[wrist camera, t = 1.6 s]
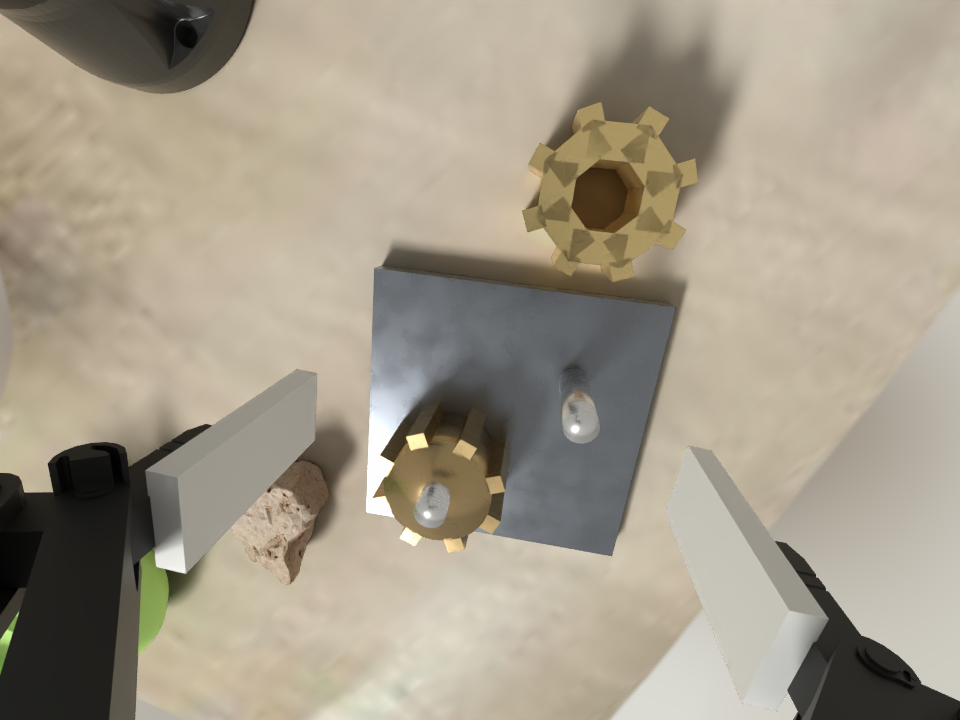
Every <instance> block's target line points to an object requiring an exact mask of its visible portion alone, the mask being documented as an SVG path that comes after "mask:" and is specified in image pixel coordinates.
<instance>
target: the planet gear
mask: <svg viewBox="0 0 960 720" xmlns="http://www.w3.org/2000/svg"><path fill="white" fill-rule="evenodd" d="M668 120H669V118H668V117H666V116H664V115H663V114H661V113H659V112H658V111H656V110H655V109H653V108H651V107H650V106H649V107H648V108H647V109H646V110H645V111H644V112H643V113H642V114H641V115H639V116H638V117H637V118H636V119H635V120H634V121H633V122H632V123H623V122H613V121H605V118H604V113H603V108H602V102H599V103H596V104H593V105H590V106H587V107H584V108H582V109H579V110H577V113H576V116H575V119H574V121H573V124H572V130H573V136H572V137H571V138H570V139H569V140H567V141H566V142H565V143H564V144H563V145H562V146H560V147H559V148H558V149H557V150H556V151H554V150H552V149H550V148H549V147H547V146H545V145H543V144H542V143H539V145H538V147H537V149H536V151H535V153H534V154H533V156H532V158H531V160H530V162H529V164H528V165H529V168H530V171H531V172H533V173H534V174H536V175H538V176H539V177H541V178H542V182H541V189H540V196H539V203H538V206H536V207H532V208H529V209H526V210H522V212H523V216H524V220H525V224H526V228H527V232H530V231H534V230H537V229H541V228H544V229H545V231H546V232H547V233H548V235H549V236H550V238H551V239H552V240H553V242H554V243H555V244H556V246H557V248H556V250H555V251H554V253H553V255H552V256H551V260H552V265H553V267H555V268H557V269H558V270H560V271H562V272H563V273H565V274H567V275H569V276H570V277H571V276H572V274H573V272H574V271H575V269H576V268H577V266H578V264H579V263H585V264H593V265H601V269H602V271H603V272H604V273H605V274H606V276H607V277H608V278H609V279H610V280H611V281H612V282H616V281H620V280H623V279H627V278H631V277H635V276H634V271H633V266H632V260H633V259H635V258H636V257H638V256H639V255H640V254H642V253H643V252H645V251H646V250H647V249H649V248H650V247H652V246H653V245H654V244H656V245H659V246H662V247H665V248H669V249H672V250H673V249H674V247H675V246H676V244H677V243H678V241H679V240H680V239H681V237H682V236H683V234H684V233H685V231H686V229H684V228H683V227H681V226H679V225H678V224H676V223H674V222H673V221H672V220H673V216H674V212H675V208H676V204H677V199H678V195H679V191H680V188H681V187H685V186H688V185H692V184H695V183H698V176H697V169H696V162H695V159H691V160H688V161H685V162H681V163H678V164H676V162H675V161H674V159H673V158H672V156H671V155H670V153H669V151H668V150H667V148H666V147H665V145H664V144H663V142H662V141H661V139H660V138H659V135H660V133H661V132H662V130H663V128H664V127H665V125H666V123H667V122H668ZM590 167H593V168H603V169H612V170H615V171H616V173H617V174H618V176H619V177H620V179H621V180H622V182H623V183H624V185H625V186H626V187H627V189H628V192H627V197H626V202H625V206H624V211H623V215H621V216H620V217H619V218H617V219H616V220H615V221H613V222H612V223H611V224H609V225H608V226H607V227H605V228H604V229H597V228H588V227H585V226H584V225H583V223H582V222H581V221H580V219H579V218H578V216H577V215H576V214H575V212H574V211H573V209H572V208H571V207H572V201H573V195H574V189H575V183H576V179H577V178H578V177H579V176H580V175H581V174H583V173H584V172H585V171H586V170H588V169H589V168H590Z"/></svg>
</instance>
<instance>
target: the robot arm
mask: <svg viewBox="0 0 960 720" xmlns="http://www.w3.org/2000/svg"><path fill="white" fill-rule="evenodd" d="M251 6H252V0H0V13H1V14H2V15H4V16H5V17H6V18H8V19H9V20H11V21H12V22H14V23H15V24H17V25H18V26H20V27H21V28H22V29H24V30H25V31H27V32H28V33H30V34H31V35H33V36H34V37H36V38H37V39H39V40H40V41H41V42H43V43H44V44H46V45H47V46H49V47H50V48H52V49H53V50H55V51H56V52H57V53H59V54H60V55H62V56H63V57H65V58H66V59H68V60H69V61H71V62H72V63H74V64H75V65H77V66H78V67H80V68H82V69H83V70H85V71H87V72H89V73H91V74H93V75H95V76H97V77H100V78H102V79H104V80H107V81H110V82H113V83H116V84H120V85H123V86H126V87H130V88H133V89H137V90H140V91H144V92H150V93H161V94H163V93H175V92H180V91H185V90H188V89H191V88H193V87H195V86H198V85H200V84H201V83H203V82H205V81H206V80H208V79H209V78H210V77H212V76H213V75H214V74H215V73H217V72H218V71H219V70H220V69H221V68H222V67H223V66H224V64H225V63H226V62H227V61H228V59H229V58H230V57H231V55H232V54H233V52H234V51H235V49H236V47H237V45H238V44H239V42H240V39H241V37H242V35H243V33H244V30H245V27H246V25H247V21H248V18H249V14H250V10H251ZM316 397H317V373H314V372H309V371H304V370H299V369H296V370H295V371H293V372H292V373H290V374H289V375H287V376H286V377H284V378H283V379H281V380H280V381H278V382H277V383H275V384H274V385H272V386H271V387H269V388H268V389H266V390H265V391H263V392H262V393H260V394H259V395H257V396H256V397H254V398H253V399H252V400H250V401H249V402H247V403H246V404H244V405H243V406H241V407H240V408H238V409H237V410H235V411H234V412H232V413H231V414H229V415H228V416H226V417H225V418H223V419H222V420H220V421H219V422H217V423H216V424H214V425H208V424H204V425H201V426H199V427H196V428H193V429H190V430H187V431H185V432H184V433H182V434H181V435H179V436H177V437H176V438H174V439H173V440H172V441H171V442H168V443H166V444H165V445H163V446H162V447H160V449H159V450H155V451H154V452H152V453H151V454H149V455H147V456H146V457H144V458H143V459H141V460H139V461H138V462H136V463H135V464H133V465H132V466H130V467H128V460H127V453H126V450H125V448H124V447H123V446H121V445H119V444H115V443H108V442H101V443H90V444H85V445H80V446H76V447H73V448H70V449H67V450H65V451H63V452H61V453H59V454H58V455H56V456H54V457H53V458H52V459H51V461H50V462H49V463H48V467H49V472H50V477H51V482H52V487H53V492H43V493H24V490H23V486H22V482H21V480H20V478H19V476H16V475H13V474H10V473H0V639H1V638H2V636H3V635H4V633H5V632H6V630H7V629H8V627H9V626H10V624H11V623H12V621H13V620H14V618H15V617H16V615H17V614H18V612H19V614H18V617H17V621H16V624H15V627H14V630H13V634H12V637H11V640H10V644H9V647H8V650H7V654H6V657H5V660H4V663H3V667H2V670H1V673H0V720H135V710H136V688H137V666H138V644H139V621H140V599H141V577H142V568H141V559H142V558H143V557H144V556H145V555H146V554H147V553H149V552H150V551H151V550H152V549H153V548H154V551H155V560H156V567H159V568H163V569H167V570H172V571H176V572H180V573H185V574H186V573H187V572H188V571H189V570H190V569H191V568H192V567H193V566H194V565H195V564H196V563H197V562H198V561H199V560H200V559H201V558H202V557H203V556H204V555H205V553H206V552H207V551H208V550H209V549H210V548H211V547H212V546H213V545H214V544H215V543H216V542H217V541H218V540H219V539H220V538H221V537H222V536H223V535H224V534H225V533H226V532H227V531H228V530H229V529H230V528H231V527H232V526H233V525H234V523H235V522H236V521H237V520H238V519H239V518H240V517H241V516H242V515H243V514H244V513H245V512H246V511H247V510H248V509H249V508H250V507H251V506H252V505H253V504H254V503H255V502H256V501H257V500H258V499H259V498H260V497H261V496H262V495H263V493H264V492H265V491H266V490H267V489H268V488H269V487H270V486H271V485H272V484H273V483H274V482H275V481H276V480H277V479H278V478H279V477H280V476H281V475H282V474H283V473H284V472H285V471H286V470H287V469H288V468H289V467H290V466H291V465H292V463H293V462H294V461H295V460H296V459H297V458H298V457H299V456H300V455H301V454H302V453H303V452H304V451H305V450H306V449H307V448H308V447H309V446H310V445H311V444H312V443H313V442H314V441H315V427H316ZM665 514H666V516H667V519H668V521H669V524H670V526H671V529H672V531H673V534H674V536H675V539H676V541H677V544H678V546H679V549H680V551H681V554H682V556H683V559H684V561H685V564H686V566H687V569H688V571H689V574H690V576H691V579H692V581H693V584H694V586H695V589H696V591H697V594H698V596H699V598H700V601H701V603H702V606H703V608H704V611H705V613H706V616H707V618H708V621H709V623H710V626H711V628H712V631H713V633H714V636H715V638H716V641H717V643H718V646H719V648H720V651H721V653H722V656H723V658H724V661H725V663H726V666H727V668H728V671H729V673H730V676H731V678H732V680H733V683H734V685H735V688H736V690H737V693H738V695H739V698H740V700H741V703H742V704H747V705H751V706H755V707H759V708H764V709H768V710H773V711H776V712H777V711H778V710H779V708H780V706H781V704H782V702H783V701H784V699H785V697H786V695H787V693H789V695H790V697H791V699H792V701H793V702H794V704H795V707H796V708H797V710H798V713H797V714H796V716H795V718H794V719H793V720H960V701H958V700H956V699H954V698H951V697H949V696H947V695H945V694H942V693H940V692H938V691H935V690H933V689H931V688H929V687H927V686H924V685H922V684H921V681H920V680H919V678H918V677H917V675H916V674H915V673H914V671H913V670H912V669H911V668H910V667H909V666H908V665H907V664H906V663H905V662H904V661H903V660H902V659H901V658H900V657H899V656H898V655H896V654H894V653H893V652H892V651H891V650H889V649H887V648H886V647H885V646H883V645H882V644H880V643H878V642H876V641H874V640H872V639H870V638H867V637H864V636H861V635H860V633H859V632H858V631H857V629H856V628H855V627H854V625H853V624H852V622H851V621H850V620H849V618H848V617H847V616H846V614H845V613H844V612H843V610H842V609H841V608H840V606H839V605H838V604H837V602H836V601H835V600H834V598H833V597H832V596H831V594H830V593H829V592H828V591H826V588H825V586H824V585H823V584H822V582H821V581H820V580H819V578H816V574H815V573H814V571H813V570H812V569H811V567H810V566H809V565H808V563H807V562H806V561H805V559H804V558H803V557H801V556H800V555H799V554H798V553H796V551H794V550H793V549H792V548H791V547H789V545H787V544H786V543H783V542H777V541H774V540H773V538H772V537H771V535H770V534H769V532H768V531H767V529H766V528H765V527H764V525H763V524H762V522H761V521H760V519H759V518H758V517H757V515H756V514H755V512H754V511H753V509H752V508H751V506H750V505H749V504H748V502H747V501H746V499H745V498H744V496H743V495H742V494H741V492H740V491H739V489H738V488H737V486H736V485H735V483H734V482H733V481H732V479H731V478H730V476H729V475H728V473H727V472H726V470H725V469H724V468H723V466H722V465H721V463H720V462H719V460H718V459H717V458H716V456H715V455H714V453H713V452H712V450H707V449H702V448H697V447H692V446H688V448H687V451H686V454H685V457H684V460H683V462H682V465H681V468H680V471H679V474H678V477H677V479H676V482H675V485H674V488H673V491H672V494H671V496H670V499H669V502H668V505H667V508H666V511H665Z"/></svg>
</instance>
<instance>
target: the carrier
mask: <svg viewBox="0 0 960 720" xmlns="http://www.w3.org/2000/svg"><path fill="white" fill-rule="evenodd" d="M675 309H676V308H675V307H674V306H673V305H671V304H670V303H664V302H656V301H649V300H641V299H634V298H626V297H618V296H611V295H603V294H595V293H588V292H580V291H572V290H565V289H557V288H549V287H542V286H534V285H527V284H519V283H511V282H504V281H496V280H488V279H481V278H473V277H465V276H458V275H450V274H443V273H435V272H427V271H420V270H412V269H404V268H397V267H389V266H379V267H376V268H374V295H373V327H372V358H371V390H370V422H369V453H368V485H367V512H370V513H375V514H381V515H386V516H392V517H395V518H396V519H397V521H399V522H400V523H401V524H402V525H403V526H404V529H403V531H402V534H401V536H400V538H401V539H403V540H405V541H407V542H408V543H410V544H412V545H414V546H415V545H416V543H417V542H418V540H419V539H420V537H421V536H422V537H425V538H429V539H433V540H444V542H445V544H446V547H447V550H448V552H453V551H460V550H465V546H466V542H467V538H468V534H470V533H472V532H473V531H475V532H481V533H486V534H492V535H497V536H503V537H508V538H514V539H519V540H525V541H531V542H536V543H542V544H547V545H553V546H558V547H564V548H569V549H575V550H581V551H586V552H592V553H597V554H603V555H608V556H612V554H613V550H614V546H615V542H616V538H617V535H618V531H619V527H620V523H621V519H622V515H623V511H624V507H625V503H626V500H627V496H628V492H629V488H630V484H631V480H632V476H633V472H634V469H635V465H636V461H637V457H638V453H639V449H640V445H641V441H642V437H643V434H644V430H645V426H646V422H647V418H648V414H649V410H650V406H651V402H652V399H653V395H654V391H655V387H656V383H657V379H658V375H659V371H660V367H661V364H662V360H663V356H664V352H665V348H666V344H667V340H668V336H669V332H670V329H671V325H672V321H673V317H674V313H675Z"/></svg>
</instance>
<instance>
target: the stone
mask: <svg viewBox="0 0 960 720" xmlns="http://www.w3.org/2000/svg"><path fill="white" fill-rule="evenodd" d="M328 495H329V493H328V490H327V483H326V481H325V480H323V476H322V471H321V470H320V468H319V467H318V466H317V465H314V464H312V463H311V462H308V461H304V460H302V461H299V462H293V463H292V465H291V466H290V467H289V468H288V469H287V470H286V471H285V472H284V473H283V474H282V475H281V476H280V477H279V478H278V479H277V480H276V481H275V482H274V483H273V484H272V485H271V486H270V487H269V488H268V489H267V490H266V491H265V492H264V493H263V495H262V496H261V497H260V498H259V499H258V500H257V501H256V502H255V503H254V504H253V505H252V506H251V507H250V508H249V509H248V510H247V511H246V512H245V513H244V514H243V515H242V516H241V517H240V518H239V519H238V520H237V521H236V522H235V523H234V525H233V526H232V527H231V528H230V529H231V530H232V531H233V533H234V536H235V537H236V538H237V539H240V540H242V542H243V544H244V545H245V552H246V554H247V555H248V556H249V558H250V559H251V560H252V561H253V562H256V561H258V562H259V563H261V564H262V566H263V567H264V568H266V569H268V570H269V571H270V572H271V573H272V574H273V575H275V576H276V577H277V578H278V580H279V581H280V582H281V583H283V584H285V585H289V584H291V583H292V582H293V581H294V580H295V578H296V576H297V575H298V573H299V571H300V566H301V561H302V559H303V555H304V553H305V550H306V545H307V542H308V540H309V539H310V537H311V536H312V532H313V527H314V522H315V517H316V516H317V514H318V513H319V511H320V510H321V508H322V506H323V505H324V504H325V501H326V499H327V497H328Z"/></svg>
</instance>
